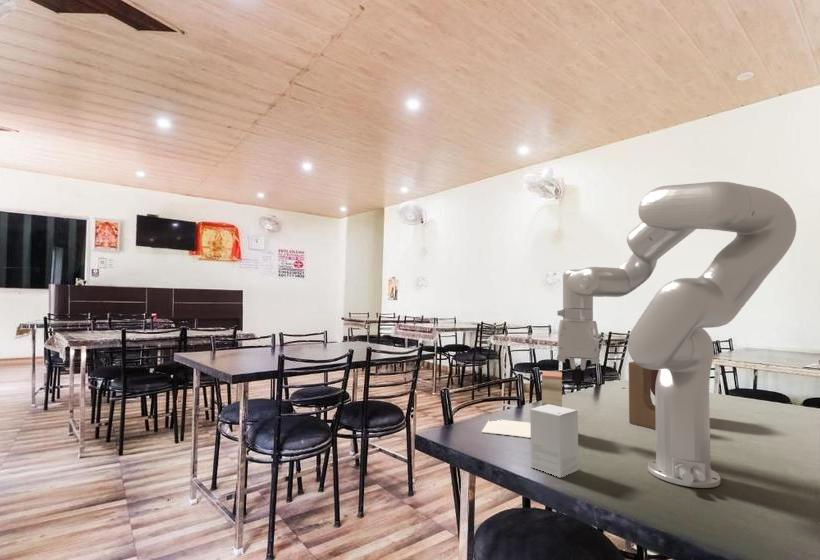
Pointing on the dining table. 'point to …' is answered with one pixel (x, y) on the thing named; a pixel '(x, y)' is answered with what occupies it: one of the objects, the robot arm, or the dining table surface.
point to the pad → (508, 428)
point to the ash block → (552, 388)
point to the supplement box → (554, 439)
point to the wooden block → (640, 397)
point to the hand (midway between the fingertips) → (577, 383)
